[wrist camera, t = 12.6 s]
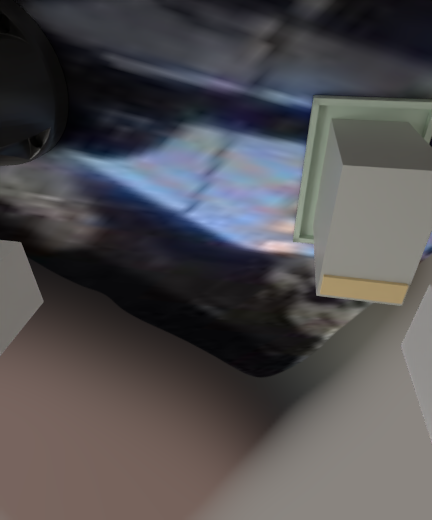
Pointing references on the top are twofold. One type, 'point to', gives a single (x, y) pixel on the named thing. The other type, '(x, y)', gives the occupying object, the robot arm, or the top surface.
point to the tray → (323, 110)
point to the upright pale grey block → (372, 210)
